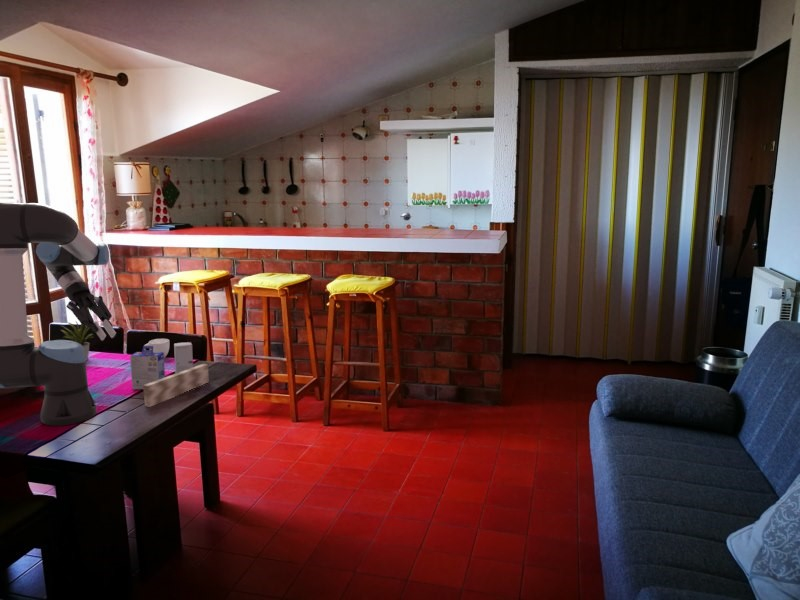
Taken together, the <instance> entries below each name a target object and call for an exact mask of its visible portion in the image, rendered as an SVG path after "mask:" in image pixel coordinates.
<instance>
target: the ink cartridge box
mask: <svg viewBox="0 0 800 600" xmlns="http://www.w3.org/2000/svg"><path fill="white" fill-rule="evenodd" d="M149 348H150V349H151V350H150V349H149ZM144 349H145V350H144ZM148 349H149V350H148ZM129 359H130V370H131V371H130V373H131V384H132V388H131V389H132V390H144V389H143V385H145V384H148V383H151V382H154V381H156V380H159V379H162V378H165V377H166V371H165V370H166V369H165V368H166V367H165V358H164V353H163V352H153V346H144V345H143V347H142V351H136V352H134V353H133V354H131V355H130V357H129Z"/></svg>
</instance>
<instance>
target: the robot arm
mask: <svg viewBox="0 0 800 600" xmlns="http://www.w3.org/2000/svg"><path fill="white" fill-rule="evenodd" d="M29 244H37V245H36V248H35V254H36V256H37V257H38V260H40V262H42V264H43V265H44V266H45V267H46V268H47V270H48V271H49V272H50V273H51V275H52V276H53V278H54V279H55V280H56V282H57V283H58V285H59V286H60V288H61V289H62V291H63V293H64V294H65V295H66V297H67V298H68V300H69V301H68V303H67V305H66V308H67V309H68V310H70V311H71V312H72V313H73V315H74V316H75V318H76V319H77V320H78V321H79V322H80V325H81V324H82V325H83V327H85V326H86V325H88V326H87V327H88V328H89V329H91V330H92V332H94V333H96V335H97V336H98V338H99V339H100V340H101V341H104V340H105V338H106V337H107V334H108V335H109V337H110V338H111V339H113V338H115V337H116V334H117V332H116V331H115V329H114V328H113V327H114V326H113V323H112V322H111V321H110V320H111V318H112V316H113V315H112V313H111V312H110V310H109V308H108V307H107V305H106V303H105V301H104V299H103V296H102V295H99V296H95V295H94V294H93V293H91V290H90V287H88V284H87V283H86V282H85V280H84V279H83V278H82V276H81V275H80V273H79V272H78V271H77V269H76V268H75V266H102V265H104V266H105V265H107V264H108V263H109V261H110V251H109V250H110V249H109V246H108V245H107V244H105V243H94V242H93V241H92V240H91V239H90V237H88V236H87V235H86V234H84V232H82V231H81V229H80V228H79V225H78V223H77V222H76V220H74V218H72V217H71V216H70V215H69V214H67V213H65V212H63V211H62V210H59V208H58V209H57V208H56V207H52V206H50V205H47V204H43V203H38V202H37V203H36V202H29V203H27V202H26V203H25V202H24V203H23V202H22V203H18V202H0V389H12V388H27V387H43V388H44V391H43V392H44V396H43V397H44V399H43V402H42V405H41V406H42V407H41V410H40V414H39V415H40V422H41V423H42V424H44V425H46V426H53V427H55V426H56V427H57V426H61V427H62V426H68V425H74V424H78V423H82V422H85V421H88V420H90V419H92V418H93V417H95V416H96V415H97V413H98V411H97V410H98V409H97V404H96V402H95V400H94V398H93V396H92V394H91V392H90V389H89V385H88V384H89V383H88V371H87V363H86V361H87V360H86V357H85V354H84V348H83V346H82V345H81V344H79V343H77V342H74V341H72V340H69V339H67V340H66V339H53V340H46V341H43V342H41V343H39V346H35V340H34V339H33V338H32V337H31V336H30V335H29V331H28V317H27V302H26V290H25V289H26V288H25V286H26V284H25V275H24V274H25V273H24V272H25V271H24V258H23V256H24V254H25V253H26V252H27V251H28V250H29ZM90 311H91V312H93V313H94V315H96V317H97V318H98V319H99V320H100V322H101V325H102V327H103V328H104V329H105V331H106V332H107V334H106V332H104V330H103V328H102V327H101V325H100V324H99V322H98V321H95V320H94V318H93V316H92V314H91V312H90ZM88 328H87V329H88Z"/></svg>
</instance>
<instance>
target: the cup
mask: <svg viewBox="0 0 800 600" xmlns="http://www.w3.org/2000/svg"><path fill="white" fill-rule="evenodd" d="M143 346H153V352H163V353H164V359H165V358H166V357H167V355H168V353H169V350H170V339H168V338H155V339H154V338H153V339H151V340H149V341H148V343H146V344H144V345H143ZM148 349H149V350H151V349H150V348H148ZM144 350H146V348H145V349H144Z"/></svg>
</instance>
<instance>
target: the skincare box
mask: <svg viewBox="0 0 800 600" xmlns="http://www.w3.org/2000/svg"><path fill="white" fill-rule="evenodd" d="M173 348H174V349H173V350H174V353H173V354H174V369H175V370H174V371H175V372H174V374H176V373H179V372H182V371H184V370H187V369H190V368H193V367H194V363H193V360H194V358H193V344H192V341H190V342H189V341H187V342H177V343H174V344H173Z"/></svg>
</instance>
